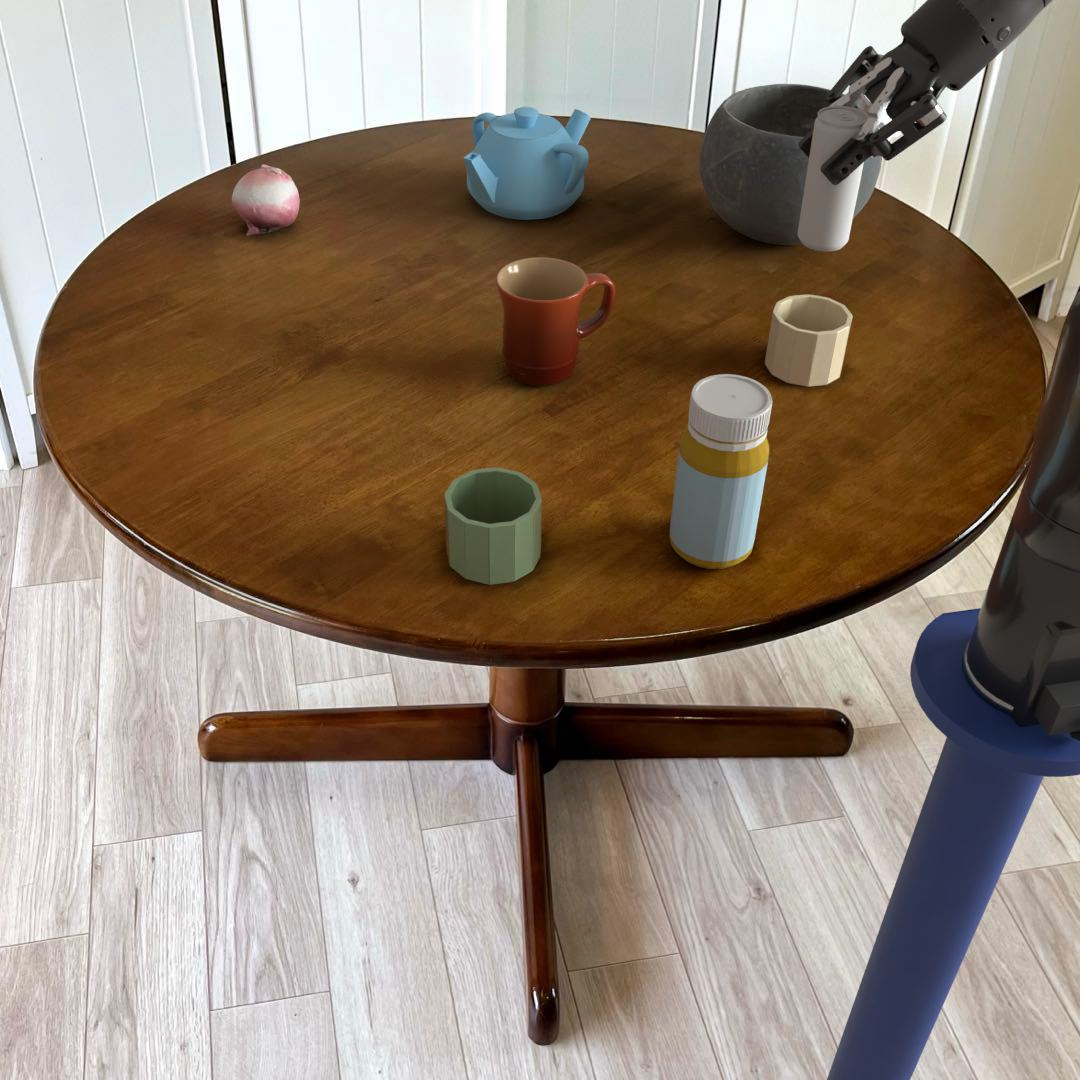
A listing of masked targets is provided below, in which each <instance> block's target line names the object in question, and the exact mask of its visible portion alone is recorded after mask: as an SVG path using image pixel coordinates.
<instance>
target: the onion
mask: <svg viewBox="0 0 1080 1080" xmlns="http://www.w3.org/2000/svg"><path fill="white" fill-rule="evenodd" d="M297 187H298V186H297V185H296V184H295V182H294V180H293V178H292V177H291V175H289V174H288V173H286V171H284V170H282V169H281V168H278V167H274V166H270V165H267V164H264V163H262V164H261V165H260V167H259V168H256V169H253V170H251V171H249V172H247V173H246V174H244V175H243V176H242V177H241V178H240V179H239V180H238V182H237V183H236V185H235V186H234V188H233V190H232V191H233V192H232V196H231V203H232V206H233V209H235V210H236V212H237V214H238V215H239V216H240V217H241V218H242V219H243V220H244V222H245V223H246V225H247V228H248V230H247V231H246V236H247V237H248V236H251V235H257V234H267V233H272V232H276V231H279V230H281V229H282V228H286V227H290V226H291V225H293V224H294V223H295V221H296V220H297V217H298V214H299V211H300V204H301V203H300V202H301V201H300V195H299V190H298V188H297Z"/></svg>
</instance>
